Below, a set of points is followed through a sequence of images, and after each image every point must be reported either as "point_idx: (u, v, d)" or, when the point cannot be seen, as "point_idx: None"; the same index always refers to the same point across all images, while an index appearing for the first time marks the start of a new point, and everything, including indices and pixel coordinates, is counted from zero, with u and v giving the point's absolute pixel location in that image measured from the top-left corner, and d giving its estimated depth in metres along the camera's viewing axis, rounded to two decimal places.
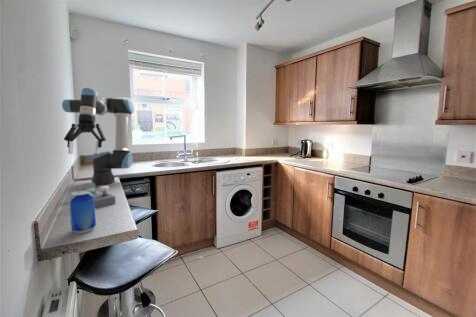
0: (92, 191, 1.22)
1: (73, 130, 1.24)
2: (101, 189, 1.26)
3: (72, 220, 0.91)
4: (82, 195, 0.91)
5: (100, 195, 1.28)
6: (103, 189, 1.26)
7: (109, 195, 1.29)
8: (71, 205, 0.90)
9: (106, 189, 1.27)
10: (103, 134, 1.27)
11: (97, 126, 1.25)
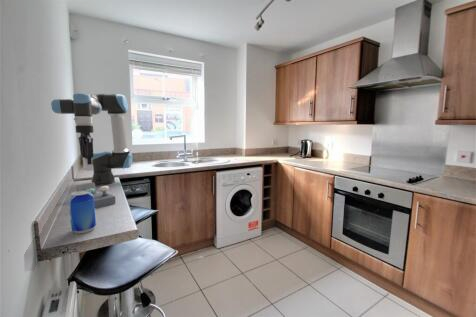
0: (92, 191, 1.22)
1: None
2: (101, 189, 1.26)
3: (72, 220, 0.91)
4: (82, 195, 0.91)
5: (100, 195, 1.28)
6: (103, 189, 1.26)
7: (109, 195, 1.29)
8: (71, 205, 0.90)
9: (106, 189, 1.27)
10: (92, 150, 1.17)
11: (86, 141, 1.14)
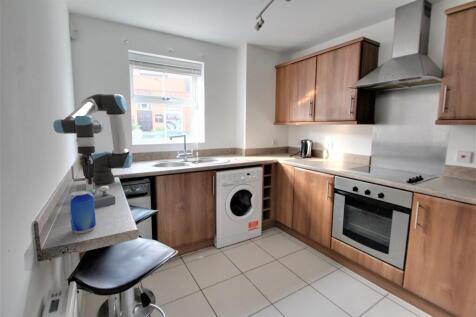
0: (92, 192, 1.22)
1: None
2: (101, 189, 1.26)
3: (72, 220, 0.91)
4: (82, 195, 0.91)
5: (100, 195, 1.28)
6: (103, 189, 1.26)
7: (109, 195, 1.29)
8: (71, 205, 0.90)
9: (106, 189, 1.27)
10: (93, 170, 1.19)
11: (88, 163, 1.16)
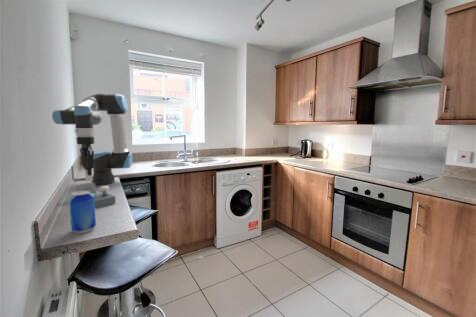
0: None
1: None
2: (101, 189, 1.26)
3: (72, 220, 0.91)
4: (82, 195, 0.91)
5: (100, 195, 1.28)
6: (103, 189, 1.26)
7: (109, 195, 1.29)
8: (71, 205, 0.90)
9: (106, 189, 1.27)
10: (92, 161, 1.18)
11: (87, 153, 1.16)
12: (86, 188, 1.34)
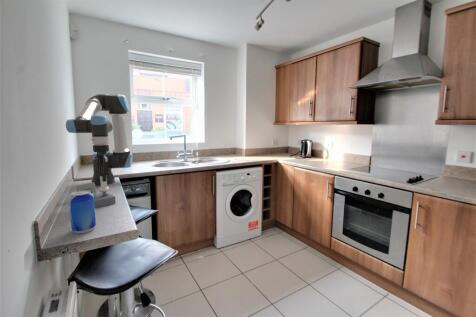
0: None
1: None
2: (101, 189, 1.26)
3: (72, 220, 0.91)
4: (82, 195, 0.91)
5: (100, 195, 1.28)
6: (103, 189, 1.26)
7: (109, 195, 1.29)
8: (71, 205, 0.90)
9: (106, 189, 1.27)
10: (107, 168, 1.24)
11: (103, 161, 1.22)
12: (86, 188, 1.34)
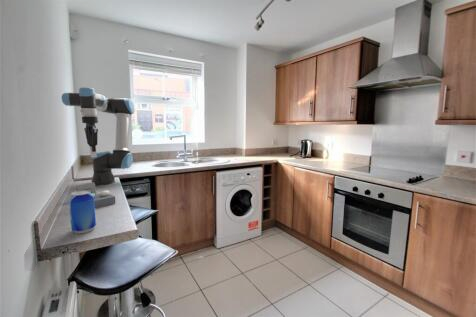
0: None
1: None
2: (101, 194, 1.26)
3: (72, 220, 0.91)
4: (82, 195, 0.91)
5: None
6: (103, 194, 1.26)
7: (109, 195, 1.29)
8: (71, 205, 0.90)
9: (106, 194, 1.27)
10: None
11: (92, 131, 1.28)
12: (86, 188, 1.34)
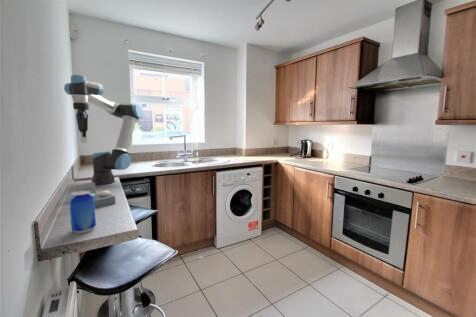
0: None
1: None
2: (101, 194, 1.26)
3: (72, 220, 0.91)
4: (82, 195, 0.91)
5: None
6: (103, 194, 1.26)
7: (109, 195, 1.29)
8: (71, 205, 0.90)
9: (106, 194, 1.27)
10: (87, 124, 1.36)
11: (82, 116, 1.33)
12: (86, 188, 1.34)
